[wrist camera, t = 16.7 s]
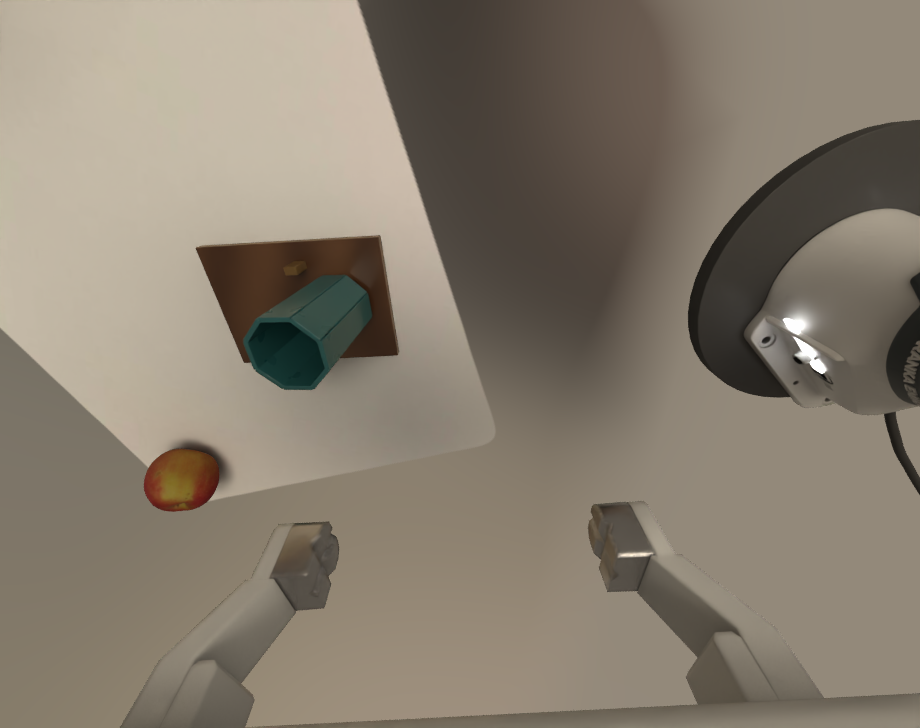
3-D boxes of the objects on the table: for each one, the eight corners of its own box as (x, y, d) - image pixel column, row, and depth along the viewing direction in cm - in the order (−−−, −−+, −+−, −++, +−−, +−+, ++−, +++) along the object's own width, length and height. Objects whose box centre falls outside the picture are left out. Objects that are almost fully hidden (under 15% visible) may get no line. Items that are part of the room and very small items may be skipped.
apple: (184, 475, 51) (140, 524, 44) (165, 433, 47) (115, 480, 40) (237, 478, 51) (202, 527, 44) (223, 437, 47) (183, 484, 40)
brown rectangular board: (380, 235, 34) (372, 242, 31) (399, 351, 41) (394, 366, 38) (201, 245, 35) (177, 253, 32) (248, 358, 41) (232, 373, 38)
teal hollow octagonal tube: (364, 274, 34) (314, 316, 25) (375, 332, 38) (335, 390, 28) (303, 275, 35) (232, 318, 26) (319, 333, 38) (261, 389, 29)
